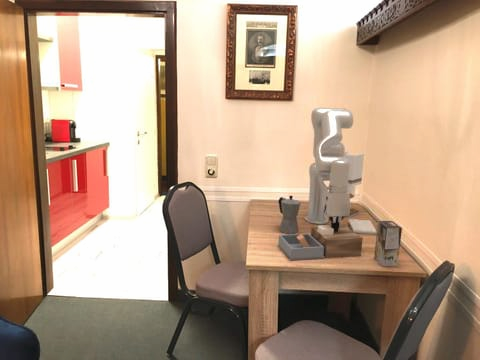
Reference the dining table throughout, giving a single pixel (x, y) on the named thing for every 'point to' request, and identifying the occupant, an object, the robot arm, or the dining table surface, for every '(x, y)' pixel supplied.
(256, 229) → the dining table surface
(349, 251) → the block
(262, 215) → the dining table surface
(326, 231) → the tile
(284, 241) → the box
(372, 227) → the washcloth
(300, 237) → the tile
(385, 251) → the coffee box
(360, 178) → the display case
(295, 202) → the coffeepot
